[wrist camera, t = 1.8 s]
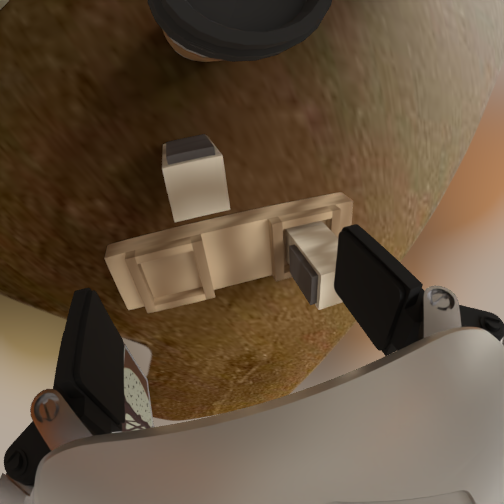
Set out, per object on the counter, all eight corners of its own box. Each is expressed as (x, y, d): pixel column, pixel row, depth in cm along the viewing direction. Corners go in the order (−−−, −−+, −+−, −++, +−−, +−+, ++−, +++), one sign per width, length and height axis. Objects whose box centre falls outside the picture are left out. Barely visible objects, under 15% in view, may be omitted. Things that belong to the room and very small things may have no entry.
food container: (81, 343, 33) (75, 406, 25) (120, 336, 34) (119, 402, 26) (117, 389, 40) (119, 443, 32) (150, 384, 42) (156, 439, 33)
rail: (341, 192, 32) (399, 238, 24) (338, 243, 36) (386, 295, 28) (107, 244, 27) (92, 317, 19) (129, 295, 31) (126, 369, 23)
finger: (161, 137, 24) (160, 160, 17) (205, 128, 24) (221, 146, 18) (171, 184, 26) (174, 222, 20) (212, 175, 27) (230, 209, 21)
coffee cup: (263, 6, 19) (362, -46, 7) (233, 83, 23) (312, 87, 11) (174, -19, 16) (193, -111, 4) (142, 61, 19) (112, 31, 7)
